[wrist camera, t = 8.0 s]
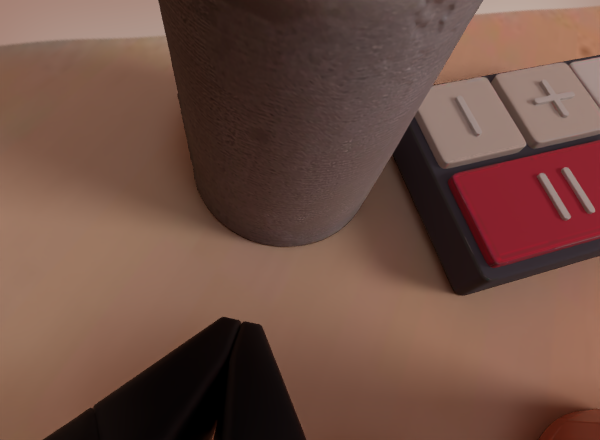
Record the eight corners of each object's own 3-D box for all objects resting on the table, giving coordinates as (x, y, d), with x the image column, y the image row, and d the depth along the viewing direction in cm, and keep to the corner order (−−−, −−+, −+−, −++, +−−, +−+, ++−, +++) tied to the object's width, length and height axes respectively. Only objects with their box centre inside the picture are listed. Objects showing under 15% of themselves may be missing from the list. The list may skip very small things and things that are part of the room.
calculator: (396, 80, 20) (628, 39, 23) (376, 131, 24) (576, 91, 27) (494, 278, 16) (762, 201, 19) (450, 301, 20) (677, 234, 23)
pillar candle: (157, 155, 21) (-2, -291, 7) (291, 74, 25) (344, -323, 11) (277, 288, 19) (359, -5, 5) (405, 178, 22) (647, -163, 9)
